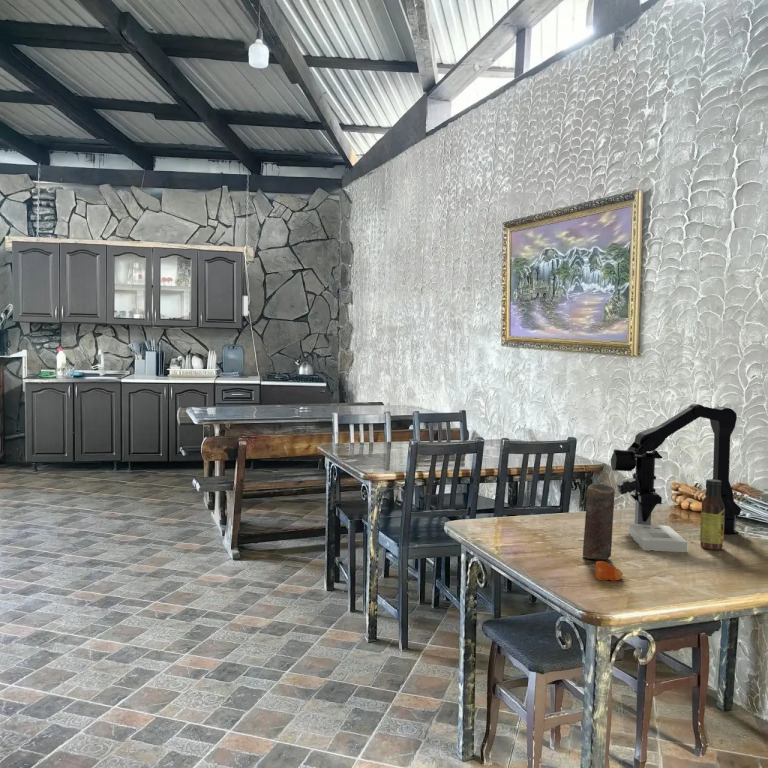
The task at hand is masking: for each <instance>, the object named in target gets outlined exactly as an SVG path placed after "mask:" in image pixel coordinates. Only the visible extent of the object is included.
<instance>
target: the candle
mask: <svg viewBox="0 0 768 768" xmlns="http://www.w3.org/2000/svg"><path fill="white" fill-rule="evenodd" d="M586 489H587V490H586V504H585V516H584V517H585V519H584V522H585V523H584V530H583V531H584V533H583V544H582V556H583V557H585V558H586V559H590V560H595V561H605V560H608V559H609V558H611V556H612V544H613V543H612V542H613V525H614V524H613V523H614V521H613V520H614V512H615V511H614V508H615V507H614V506H615V493H616V490H615V488H614V487H613V486H611V485H608V484H601V483H597V484H596V483H591V484H590V485H588V486H587V488H586Z"/></svg>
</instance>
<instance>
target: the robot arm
mask: <svg viewBox="0 0 768 768" xmlns="http://www.w3.org/2000/svg"><path fill="white" fill-rule="evenodd" d="M737 417H738V416H737V412H736V411H735V410H734V409H732V408H729V407H725V406H715V407H708V406H704V405H702V404H699V403H691V404H690V405H689V406H688V407H686V408H685V409H684V410H683V409H682V410H681V411H679V412H678V413H677V414H675V415H674V416H672V417H670V418H668V419H667V420H665V421H664V422H662V423H661V424H659V425H657V426H655V427H654V426H653V427H650V428H647V429H645V430H642V431H639V432H638V433H637V434H636V435H635V436H634V437H635V438H634V441H633V443H632V444H631V445H630V446H629V447H628V448H627V449H626V450H625V449H618V448H617V449H616V448H615V449H613V453H612V455H611V458H610V467H611V470H612V472H613V471H614V472H632V471H633V470H635V472H633V474H632V477H631V478H627V479H623V480H621V481H617V482H615V484H616V487H617V491H618V493H619V494H620V495H626V494H627V493H630V497H632V499H634V501H635V502H636V501H637V502H638V503H639V504H640V505H641V512H642V520H643V522H646V521H647V520H648V518H649V516H650V514H651V515H652V512H653V511H654V509H655V507H656V506H657V505H662V503H663V500H662V499H663V498H662V497H661V495H660V494H658V493H657V492H656V488H655V480H657V476H656V475H655V472H656V471H655V470H656V468H655V467H656V459H660V460H661V459H663V456H662V455H661V454H660V453H659V452H658V450H657V449H658V448H660V447H661V445H662V444H663V443H664V442H665V441H666V440H667V438H668V437H670V436H672V435H673V434H675V433H677V432H678V431H679V430H681V429H682V428H685V427H686V426H687V425H689V424H691V423H692V422H694V421H695V420H697V419H698V418H703V419H706V420H709V424H710V426H711V430H712V432H713V435H714V436H713V438H714V439H713V463H712V464H713V465H712V479H714V480H720V481H721V490H720V494H721V498H722V501H723V504H724V508H725V513H724V534H732V533H734V534H736V535H737V533H739V534H740V532H739V531H738V530H736V516H740V514H741V512H742V508H741V507H740V506H739V504H737V503H736V502H735V499H734V498H735V497H734V491H733V488H732V485H731V483H730V464H731V463H730V461H731V460H730V455H731V454H730V453H731V436H732V434H733V432H734V430H735V429H736V423H737V419H738V418H737ZM706 492H707V485H706V484H705V492H704V496H705V497H706V495H707V494H706ZM631 493H632V494H631Z"/></svg>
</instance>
